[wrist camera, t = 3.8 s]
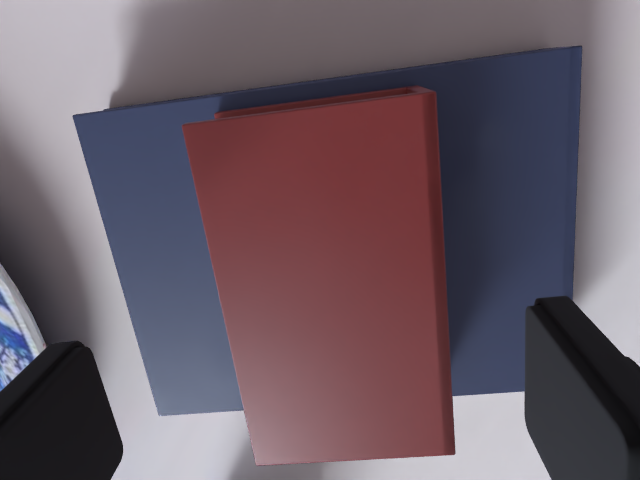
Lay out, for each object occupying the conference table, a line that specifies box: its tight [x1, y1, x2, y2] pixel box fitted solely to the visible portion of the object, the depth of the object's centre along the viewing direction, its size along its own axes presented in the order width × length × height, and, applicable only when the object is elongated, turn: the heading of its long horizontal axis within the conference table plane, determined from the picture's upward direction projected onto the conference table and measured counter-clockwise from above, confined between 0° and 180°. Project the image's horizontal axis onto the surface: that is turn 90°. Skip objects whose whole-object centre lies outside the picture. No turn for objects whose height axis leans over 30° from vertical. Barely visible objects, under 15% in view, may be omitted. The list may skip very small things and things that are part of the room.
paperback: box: [182, 85, 455, 466], centre depth 16 cm, size 6×11×4 cm, turn 7°
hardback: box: [73, 46, 582, 416], centre depth 18 cm, size 16×12×2 cm
